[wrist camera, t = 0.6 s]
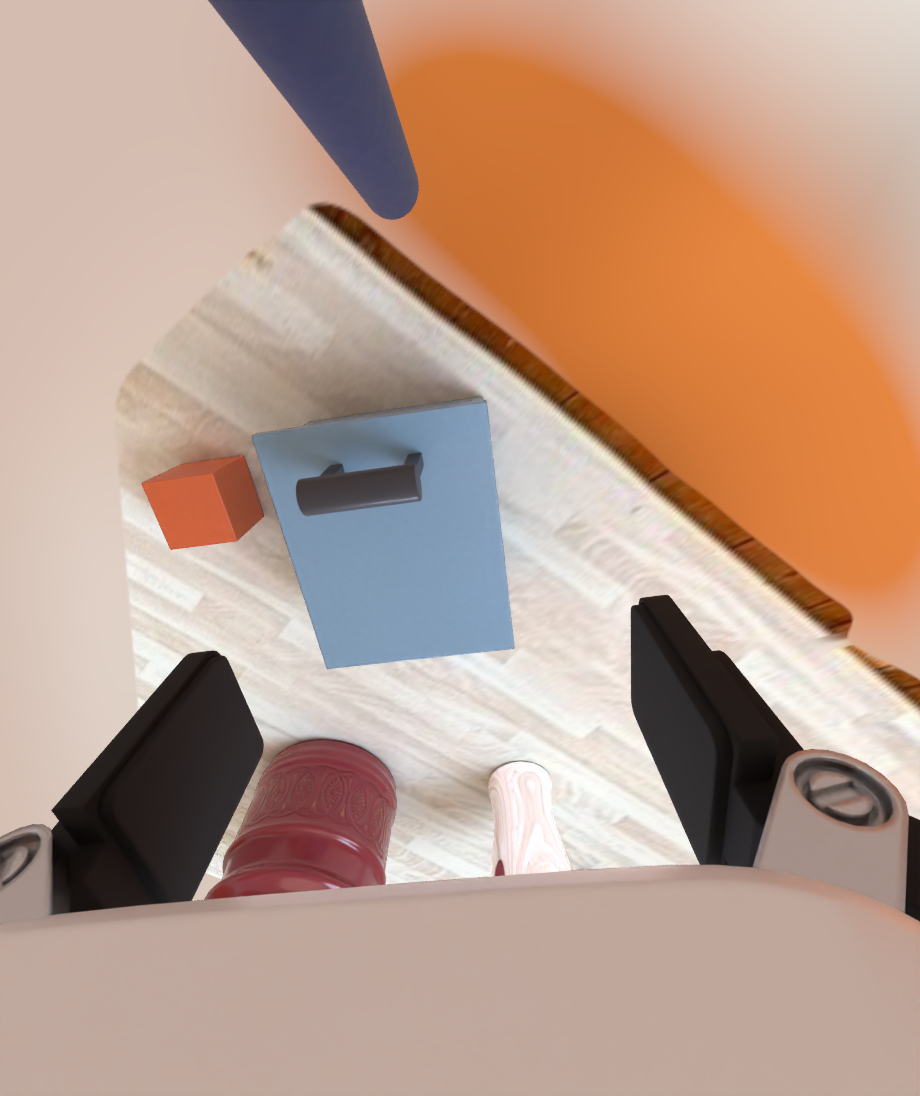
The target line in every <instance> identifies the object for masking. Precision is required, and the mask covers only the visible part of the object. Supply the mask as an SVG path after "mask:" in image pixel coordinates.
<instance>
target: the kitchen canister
mask: <svg viewBox="0 0 920 1096" xmlns="http://www.w3.org/2000/svg"><path fill="white" fill-rule="evenodd" d="M396 807H397V800H396V788H395V783H394V779H393V777H392V775H391V773H390V772H389V770H388V769H387V767H386V766H385V765H384V764H383V763H382V762H381V761H380V760H379V759H377V758H376V757H375V756H373V755H372V754H370V753H369V752H367V751H365V750H363V749H361V748H359V747H356V746H353V745H350V744H347V743H343V742H337V741H328V740H317V741H308V742H303V743H299V744H296V745H294V746H291V747H289V748H287V749H285V750H284V751H282V752H281V753H279V754H278V755H277V756H276V757H275V758H274V759H273V761H272V762H271V764H270V765H269V766H268V767H267V769H266V770H265V771H264V773H263V774H262V776H261V778H260V780H259V782H258V784H257V786H256V789H255V793H254V798H253V800H252V802H251V805H250V807H249V809H248V811H247V813H246V816H245V818H244V820H243V822H242V824H241V827H240V829H239V831H238V833H237V835H236V838H235V840H234V842H233V843H232V844H231V845H230V847H229V848H228V850H227V852H226V854H225V856H224V860H223V877H222V880H221V881H220V882H219V883H217V884H216V885H215V886H214V887H213V888H212V889H211V890H210V891H209V893H208V894H207V896H206V897H205V899H204V900H208V899H220V898H231V897H243V896H254V895H265V894H278V893H290V892H302V891H314V890H326V889H338V888H351V887H363V886H375V885H385V884H386V876H385V867H386V861H387V854H388V847H389V841H390V834H391V827H392V825H393V823H394V820H395V814H396Z"/></svg>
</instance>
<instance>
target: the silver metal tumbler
mask: <svg viewBox="0 0 920 1096" xmlns="http://www.w3.org/2000/svg"><path fill="white" fill-rule="evenodd" d="M488 791H489V795H490V799H491V803H492V807H493V812H494V836H493V845H492V853H491V861H490V870H489V877H491V876H505V875H518V874H531V873H545V872H558V871H571V870H572V868H571V865H570V862H569V859H568V857H567V854H566V851H565V848H564V846H563V843H562V840H561V838H560V835H559V832H558V829H557V827H556V824H555V820H554V815H553V809H552V780H551V777H550V775H549V774H548V772H547V771H546V770H545V769H544V768H542V767H541V766H539V765H537V764H534V763H530V762H523V761H519V762H511V763H508V764H505V765H503V766H501V767H499V768H498V769H496V770H495V771H494V772H493V773H492V775H491V776H490V778H489V781H488Z"/></svg>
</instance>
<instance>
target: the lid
mask: <svg viewBox="0 0 920 1096" xmlns="http://www.w3.org/2000/svg"><path fill="white" fill-rule="evenodd" d="M252 439H253V443H254V446H255V449H256V452H257V455H258V458H259V461H260V464H261V467H262V470H263V473H264V476H265V480H266V483H267V486H268V489H269V492H270V495H271V498H272V501H273V504H274V507H275V510H276V514H277V517H278V520H279V523H280V526H281V529H282V532H283V535H284V538H285V541H286V544H287V547H288V551H289V554H290V557H291V560H292V563H293V566H294V569H295V572H296V575H297V578H298V581H299V584H300V588H301V591H302V594H303V597H304V600H305V603H306V606H307V609H308V612H309V615H310V618H311V621H312V625H313V628H314V631H315V634H316V637H317V640H318V643H319V646H320V649H321V652H322V655H323V658H324V662H325V665H326V668H327V669H332V668H341V667H350V666H359V665H368V664H378V663H387V662H396V661H405V660H415V659H424V658H433V657H442V656H452V655H461V654H470V653H479V652H489V651H498V650H507V649H514V648H515V646H514V637H513V629H512V620H511V611H510V602H509V594H508V585H507V576H506V567H505V559H504V550H503V541H502V532H501V524H500V515H499V506H498V497H497V489H496V480H495V471H494V462H493V454H492V445H491V436H490V427H489V419H488V410H487V402H486V400H481V401H474V402H467V403H460V404H453V405H446V406H439V407H433V408H426V409H419V410H412V411H405V412H398V413H391V414H385V415H378V416H371V417H364V418H357V419H350V420H343V421H336V422H330V423H323V424H316V425H309V426H302V427H295V428H288V429H282V430H275V431H268V432H261V433H256V434H254V435H252Z"/></svg>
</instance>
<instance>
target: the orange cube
mask: <svg viewBox="0 0 920 1096" xmlns="http://www.w3.org/2000/svg"><path fill="white" fill-rule="evenodd" d="M142 486H143V488H144V491H145V493H146V495H147V497H148V500H149V502H150V504H151V507H152V509H153V511H154V513H155V516H156V518H157V520H158V522H159V525H160V527H161V529H162V532H163V534H164V536H165V538H166V541H167V543H168V545H169V548H170V549H171V550H173V549H180V548H188V547H196V546H204V545H211V544H219V543H227V542H234V541H238V540H239V539H240V538H241V537H242V536H243V535H244V534H245V533H246V532H247V531H249V530H250V529H251V528H252V527H253V526H254V525H255V524H256V523H257V522H258V521H259V520H261V519H262V518H263V517H264V514H263V511H262V508H261V505H260V502H259V499H258V496H257V493H256V490H255V487H254V484H253V481H252V478H251V475H250V472H249V469H248V466H247V463H246V460H245V457H244V456H243V455H242V456H235V457H228V458H221V459H214V460H207V461H200V462H193V463H186V464H181V465H179V466H177V467H175V468H172V469H170V470H168V471H166V472H164V473H162V474H160V475H158V476H155V477H153V478H151V479H149V480H147V481H145V482H143V483H142Z"/></svg>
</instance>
